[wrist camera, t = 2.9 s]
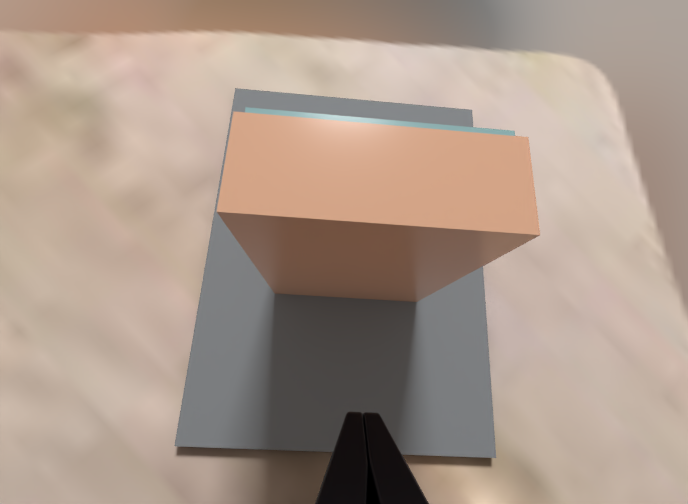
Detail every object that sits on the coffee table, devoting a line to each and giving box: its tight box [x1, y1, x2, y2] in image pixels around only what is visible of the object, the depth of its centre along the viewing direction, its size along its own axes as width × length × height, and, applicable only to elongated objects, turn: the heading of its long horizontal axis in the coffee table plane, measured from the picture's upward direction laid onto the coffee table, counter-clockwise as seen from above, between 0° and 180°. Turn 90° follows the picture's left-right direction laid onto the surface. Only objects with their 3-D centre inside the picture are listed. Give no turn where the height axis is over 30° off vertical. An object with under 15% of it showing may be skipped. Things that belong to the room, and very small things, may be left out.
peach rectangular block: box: [217, 107, 540, 302], centre depth 13 cm, size 3×7×10 cm, turn 87°
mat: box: [175, 88, 496, 458], centre depth 18 cm, size 18×14×1 cm
